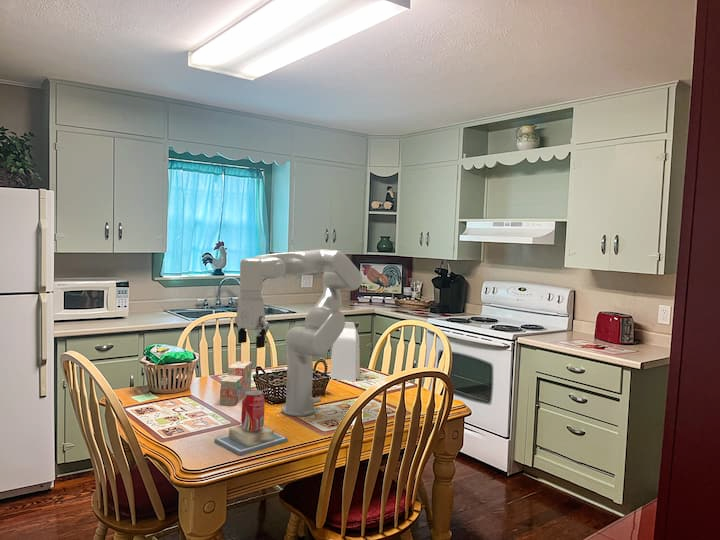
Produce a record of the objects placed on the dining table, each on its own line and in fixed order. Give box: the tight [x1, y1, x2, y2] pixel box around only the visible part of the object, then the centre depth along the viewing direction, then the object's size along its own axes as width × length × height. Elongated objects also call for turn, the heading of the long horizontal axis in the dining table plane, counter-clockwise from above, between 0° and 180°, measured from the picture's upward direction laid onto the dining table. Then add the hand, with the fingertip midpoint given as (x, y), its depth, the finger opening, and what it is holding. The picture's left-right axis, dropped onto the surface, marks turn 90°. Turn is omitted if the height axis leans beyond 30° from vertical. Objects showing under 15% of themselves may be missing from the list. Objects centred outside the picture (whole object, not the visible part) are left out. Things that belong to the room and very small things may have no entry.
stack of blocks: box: [219, 360, 253, 406], centre depth 223 cm, size 21×6×12 cm, turn 175°
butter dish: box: [213, 425, 289, 456], centre depth 177 cm, size 18×14×4 cm
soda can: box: [240, 388, 266, 432], centre depth 177 cm, size 7×7×12 cm
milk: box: [329, 321, 361, 381], centre depth 260 cm, size 12×12×26 cm
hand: (251, 345), depth 190 cm, fingers open, 9 cm apart
